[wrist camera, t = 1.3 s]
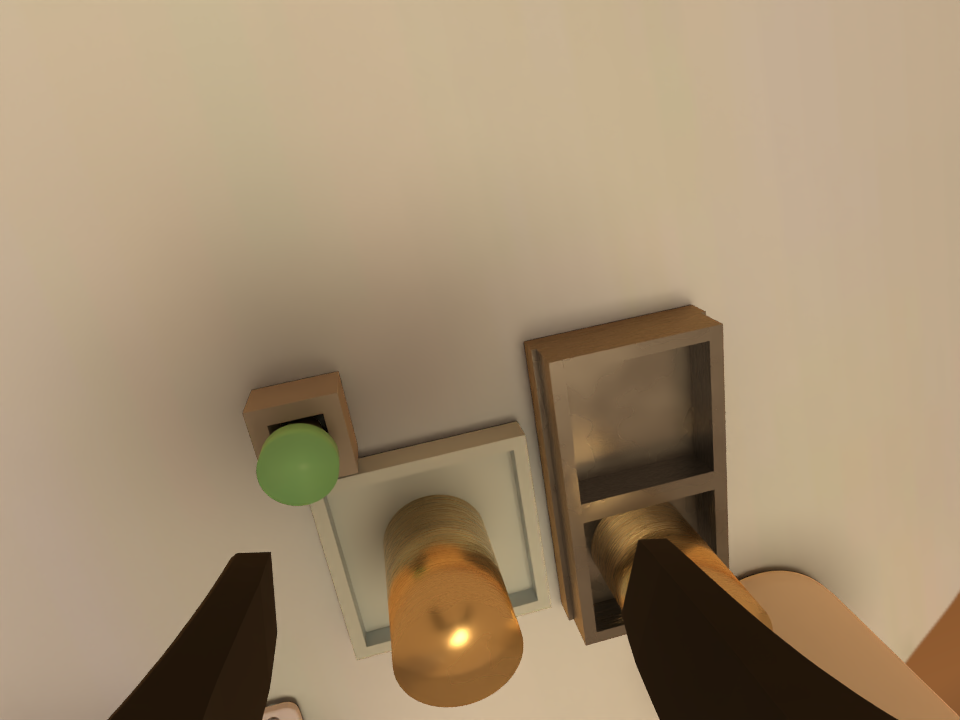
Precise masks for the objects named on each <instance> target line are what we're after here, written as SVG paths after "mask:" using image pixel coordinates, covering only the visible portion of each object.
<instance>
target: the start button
mask: <svg viewBox="0 0 960 720" xmlns="http://www.w3.org/2000/svg"><path fill="white" fill-rule="evenodd" d="M339 460H340V457H339V450H338V447H337V444H336V442H335V441H334V439H333V438H332V437H331V436H330V435H329V434H328V433H327V432H326V431H324V430H323V429H322V425H321V423H320V422H319V421H318V420H317V419H316V418H314V417H312V416H309V417H305V418H300V419H296V420H292V421H290V422H289V423H288V425H286V426H284V427H281V428H279V429H277V430H276V431H274V432H273V433H272V434H271V435H270V436H269V437H268V438H267V439H266V440H265V442H264V444H263V446H262V449H261V452H260V455H259V459H258V462H257V468H256V473H257V479H258V482H259V484H260V486H261V488H262V489H263V491H264V492H265V493H266V494H267V495H268V496H269V497H271V498H272V499H274V500H276V501H277V502H280V503H282V504H286V505H292V506H303V505H308V504H312V503H315V502H317V501H319V500H321V499H322V498H324V497H325V496H327V495H328V494H329V493H330V492H331V490H332V489H333V488H334V486H335V484H336V482H337V480H338V476H339Z"/></svg>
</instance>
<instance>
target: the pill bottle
mask: <svg viewBox="0 0 960 720" xmlns="http://www.w3.org/2000/svg"><path fill="white" fill-rule="evenodd" d="M739 581H740V583H741V584H742V585H743V586H744V587H745V588H746V590H747V591H748V592H749V593H750V594H751V595H752V596H753V598H754V599H755V600H756V601H757V602H758V603H759V604H760V606H761V607H762V608H763V609H764V610H765V611H766V613H767V614H768V616H769V618H770V620H771V623H772V627H773V632H774V633H775V634H777V635H778V636H779V637H780V638H782V639H783V640H784V641H785V642H787V643H788V644H789V645H791V646H792V647H793V648H794V649H796V650H797V651H798V652H799V653H801V654H802V655H803V656H805V657H806V658H807V659H809V660H810V661H811V662H813V663H814V664H815V665H817V666H818V667H819V668H821V669H822V670H824V671H825V672H827V673H828V674H829V675H831V676H832V677H834V678H835V679H837V680H838V681H839V682H841V683H842V684H844V685H845V686H847V687H848V688H849V689H851V690H852V691H854V692H855V693H857V694H858V695H860V696H861V697H863V698H864V699H866V700H867V701H869V702H871V703H872V704H874V705H875V706H877V707H878V708H880V709H881V710H883V711H885V712H886V713H888V714H890V715H891V716H893V717H895V718H896V719H898V720H960V717H959V716H958V715H957V714H956V713H955V712H954V711H953V710H952V709H951V708H950V707H949V706H948V705H947V704H946V703H945V702H944V701H943V700H942V699H941V698H940V697H939V696H938V695H937V694H936V693H935V692H934V691H933V690H932V689H931V688H930V687H929V686H928V685H926V684H925V683H924V682H923V681H922V680H921V679H920V678H919V677H918V676H917V675H916V674H915V673H914V672H913V671H912V670H911V669H910V668H909V667H908V666H907V665H906V664H905V663H904V662H903V661H902V660H901V659H900V658H899V657H898V656H897V655H896V654H895V653H894V652H893V651H892V650H891V649H890V648H889V647H887V646H886V645H885V644H884V643H883V642H882V641H881V640H880V639H879V638H878V637H877V636H876V635H875V634H874V633H873V632H872V631H871V630H870V629H869V628H868V627H867V626H866V625H865V624H864V623H863V622H862V621H861V620H860V619H859V618H858V617H857V616H856V615H855V614H854V613H853V612H852V611H851V610H850V609H848V608H847V607H846V606H845V605H844V604H843V603H842V602H841V601H840V600H839V599H838V598H837V597H836V596H835V595H834V594H833V593H832V592H831V591H829V590H828V589H827V588H825V587H824V586H823V585H822V584H820V583H819V582H817V581H816V580H814V579H812V578H810V577H808V576H806V575H803V574H800V573H796V572H790V571H769V572H763V573H759V574H755V575H752V576H749V577H746V578H744V579H742V580H739Z"/></svg>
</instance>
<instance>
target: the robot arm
mask: <svg viewBox="0 0 960 720" xmlns="http://www.w3.org/2000/svg"><path fill="white" fill-rule="evenodd" d="M621 615H622V618H623V622H624V625H625V629H626V633H627V636H628V640H629V643H630V646H631V650H632V653H633V656H634V659H635V662H636V665H637V668H638V670H639V672H640V675H641V677H642V680H643V682H644V684H645V687H646V689H647V691H648V694H649V696H650V698H651V701H652V703H653V705H654V708H655V710H656V712H657V714H658V717H659V719H660V720H898V719H896V718H895V717H893V716H891V715H890V714H888V713H886V712H885V711H883V710H881V709H880V708H878V707H877V706H875V705H874V704H872V703H871V702H869V701H867V700H866V699H864V698H863V697H861V696H860V695H858V694H857V693H855V692H854V691H852V690H851V689H849V688H848V687H847V686H845V685H844V684H842V683H841V682H839V681H838V680H837V679H835V678H834V677H832V676H831V675H829V674H828V673H827V672H825V671H824V670H822V669H821V668H819V667H818V666H817V665H815V664H814V663H813V662H811V661H810V660H809V659H807V658H806V657H805V656H803V655H802V654H801V653H799V652H798V651H797V650H796V649H794V648H793V647H792V646H791V645H789V644H788V643H787V642H785V641H784V640H783V639H782V638H780V637H779V636H778V635H777V634H775V633H774V632H773V631H772V630H770V629H769V628H768V627H767V626H766V625H764V624H763V623H762V622H761V621H760V620H758V619H757V618H756V617H755V616H754V615H752V614H751V613H750V612H749V611H748V610H747V609H745V608H744V607H743V606H742V605H741V604H740V603H739V602H737V601H736V600H735V599H734V598H733V597H732V596H731V595H729V594H728V593H727V592H726V591H725V590H724V589H723V588H722V587H720V586H719V585H718V584H717V583H716V582H715V581H714V580H713V579H712V578H710V577H709V576H708V575H707V574H706V573H705V572H704V571H703V570H702V569H701V568H699V567H698V566H697V565H696V564H695V563H694V562H693V561H692V560H691V559H690V558H688V557H687V556H686V555H685V554H684V553H683V552H682V551H681V550H680V549H678V548H677V547H676V546H675V545H674V544H673V543H672V542H670V541H669V540H668V539H667V538H663V539H638V543H637V548H636V552H635V556H634V561H633V565H632V569H631V574H630V578H629V582H628V587H627V591H626V595H625V600H624V604H623V608H622V613H621ZM276 638H277V623H276V611H275V598H274V586H273V573H272V561H271V552H260V553H237V554H235V555H234V556H233V557H232V558H231V559H230V560H229V562H228V564H227V565H226V567H225V569H224V570H223V572H222V573H221V575H220V576H219V578H218V580H217V581H216V583H215V584H214V586H213V587H212V589H211V590H210V592H209V593H208V595H207V596H206V597H205V599H204V600H203V602H202V603H201V605H200V606H199V607H198V609H197V610H196V612H195V613H194V615H193V616H192V617H191V619H190V620H189V621H188V623H187V624H186V625H185V627H184V628H183V629H182V631H181V632H180V633H179V635H178V636H177V637H176V639H175V640H174V641H173V643H172V644H171V645H170V647H169V648H168V649H167V650H166V652H165V653H164V654H163V655H162V657H161V658H160V659H159V660H158V662H157V663H156V664H155V665H154V666H153V668H152V669H151V670H150V671H149V672H148V674H147V675H146V676H145V677H144V678H143V680H142V681H141V682H140V683H139V684H138V686H137V687H136V688H135V689H134V690H133V692H132V693H131V694H130V695H129V696H128V697H127V699H126V700H125V701H124V702H123V703H122V704H121V705H120V706H119V708H118V709H117V710H116V711H115V712H114V713H113V714H112V715H111V716H110V718H109V719H108V720H303V719H302V716H301V713H300V711H299V708H298V706H297V705H296V704H294V703H292V702H283V703H280V704H276V705H272V706H269V707H266V702H267V698H268V694H269V689H270V683H271V676H272V669H273V662H274V654H275V646H276ZM271 717H277V718H275V719H272V718H271Z"/></svg>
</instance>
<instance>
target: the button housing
mask: <svg viewBox="0 0 960 720" xmlns="http://www.w3.org/2000/svg"><path fill="white" fill-rule="evenodd" d="M318 414H324V418H325V422H326V425H327V429H328V433H329V435H330V436H331V437H332V438H333V439H334V441H335V442H336V444H337V447H338V450H339V457H340V460H339V476H338V477H343V476H347V475H351V474H355V473H358V445H357V441H356V437H355V433H354V429H353V425H352V422H351V418H350V414H349V410H348V406H347V402H346V399H345V395H344V391H343V387H342V383H341V379H340V375H339V372H338V371H337V372H333V373H328V374H323V375H319V376H314V377H310V378H305V379H300V380H296V381H291V382H287V383H282V384H277V385H273V386H268V387H264V388H259V389H254V390H251V393H250V396H249V398H248V401H247V403H246V406H245V408H244V411H243V416H244V420H245V423H246V426H247V429H248V432H249V435H250V438H251V441H252V444H253V447H254V450H255V453H256V456H257V459H259V455H260V452H261V449H262V446H263V444H264V442H265V440H266V439H267V438H268V437H269V436H270V435H271V434H272V433H273V432H274V431H276V430H277V429H279V428H281V427H282V426H281V423H283V422H287V421H292V420H296V419H300V418H305V417H309V416H314V415H318Z"/></svg>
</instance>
